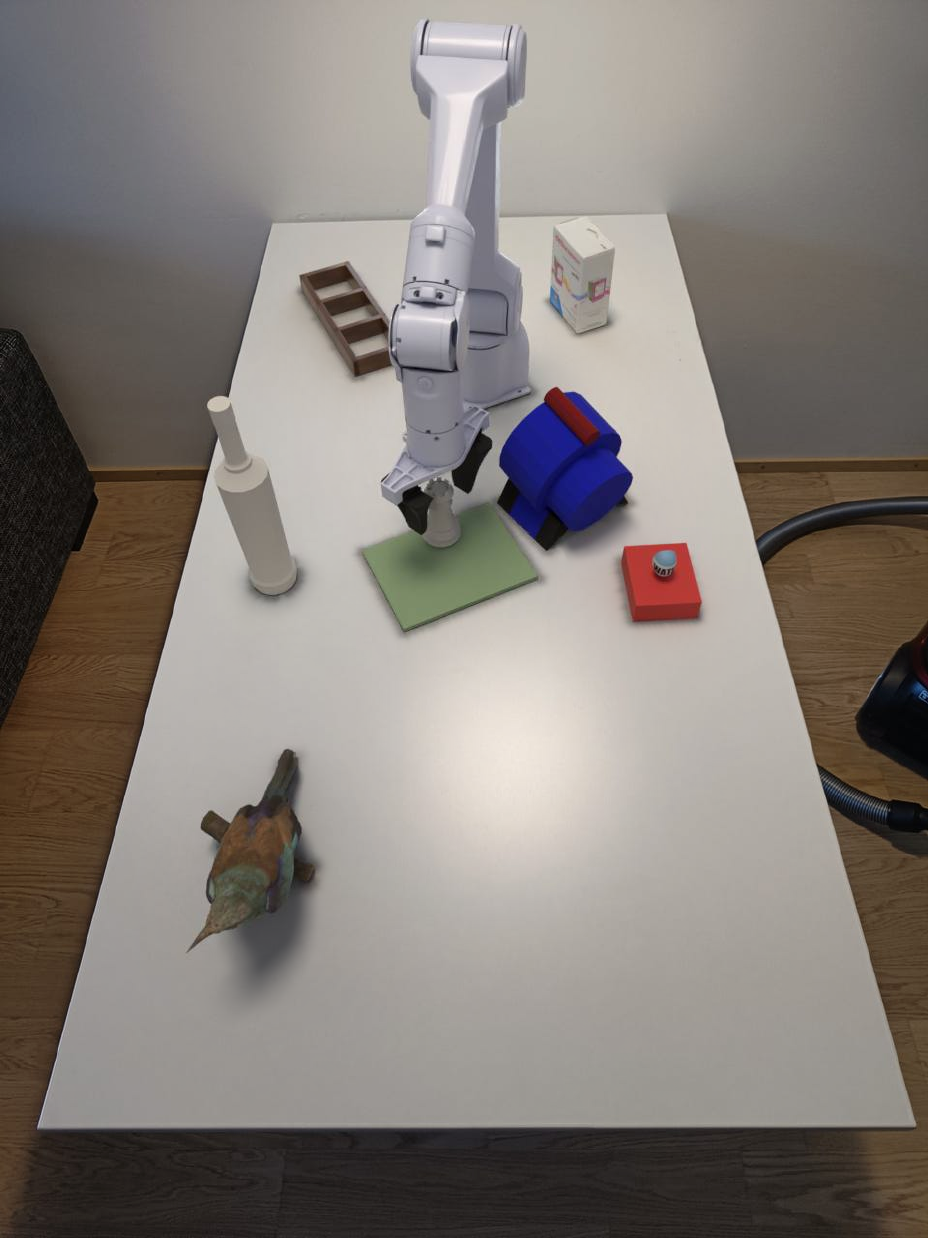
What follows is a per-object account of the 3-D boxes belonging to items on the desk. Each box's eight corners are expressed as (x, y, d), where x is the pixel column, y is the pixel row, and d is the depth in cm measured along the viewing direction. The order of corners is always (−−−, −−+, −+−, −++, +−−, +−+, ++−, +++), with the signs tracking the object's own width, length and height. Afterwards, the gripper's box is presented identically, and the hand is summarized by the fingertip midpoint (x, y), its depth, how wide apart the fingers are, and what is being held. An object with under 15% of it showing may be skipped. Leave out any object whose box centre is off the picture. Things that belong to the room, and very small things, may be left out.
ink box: (546, 300, 125) (551, 222, 115) (577, 291, 126) (585, 212, 117) (576, 335, 121) (584, 256, 111) (607, 324, 122) (618, 246, 112)
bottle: (290, 600, 96) (236, 427, 75) (245, 592, 97) (179, 420, 76) (304, 563, 99) (256, 387, 78) (260, 556, 100) (201, 380, 79)
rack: (350, 275, 130) (348, 260, 128) (407, 359, 118) (406, 344, 116) (301, 290, 128) (298, 274, 126) (355, 376, 117) (352, 361, 115)
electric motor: (571, 453, 108) (583, 353, 95) (640, 513, 102) (662, 415, 90) (492, 498, 104) (493, 399, 92) (559, 563, 98) (570, 467, 86)
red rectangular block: (696, 617, 94) (708, 581, 88) (632, 621, 93) (641, 585, 88) (681, 558, 98) (692, 521, 93) (621, 562, 98) (628, 524, 93)
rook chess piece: (456, 552, 98) (454, 504, 92) (417, 546, 99) (412, 497, 93) (465, 523, 101) (463, 473, 94) (427, 517, 102) (423, 467, 95)
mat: (489, 505, 103) (489, 502, 103) (537, 579, 97) (538, 575, 96) (362, 553, 100) (361, 549, 99) (404, 632, 93) (403, 629, 93)
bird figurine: (231, 745, 85) (151, 767, 65) (333, 750, 85) (284, 775, 65) (221, 885, 84) (137, 952, 64) (324, 892, 84) (272, 960, 64)
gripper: (451, 358, 90) (455, 454, 101) (352, 436, 84) (368, 529, 95) (505, 387, 87) (503, 483, 98) (407, 470, 81) (416, 562, 92)
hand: (440, 508), depth 96 cm, fingers open, 7 cm apart
